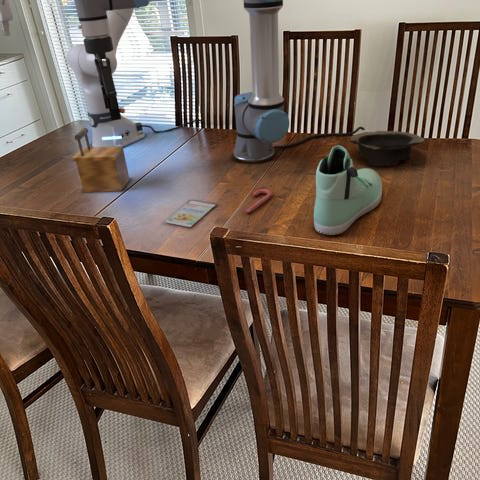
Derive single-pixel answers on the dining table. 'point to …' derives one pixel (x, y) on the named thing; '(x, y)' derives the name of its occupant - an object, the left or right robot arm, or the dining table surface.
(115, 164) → the chest
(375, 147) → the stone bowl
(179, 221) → the baking ingredient package
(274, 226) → the dining table surface
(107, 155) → the lid
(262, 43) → the right robot arm
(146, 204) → the dining table surface
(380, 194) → the sneaker
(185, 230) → the dining table surface
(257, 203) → the candy cane
